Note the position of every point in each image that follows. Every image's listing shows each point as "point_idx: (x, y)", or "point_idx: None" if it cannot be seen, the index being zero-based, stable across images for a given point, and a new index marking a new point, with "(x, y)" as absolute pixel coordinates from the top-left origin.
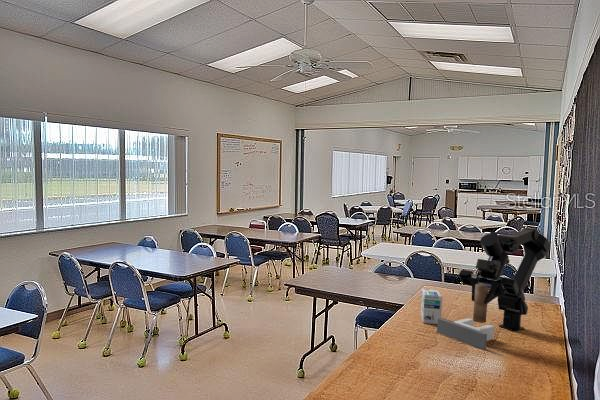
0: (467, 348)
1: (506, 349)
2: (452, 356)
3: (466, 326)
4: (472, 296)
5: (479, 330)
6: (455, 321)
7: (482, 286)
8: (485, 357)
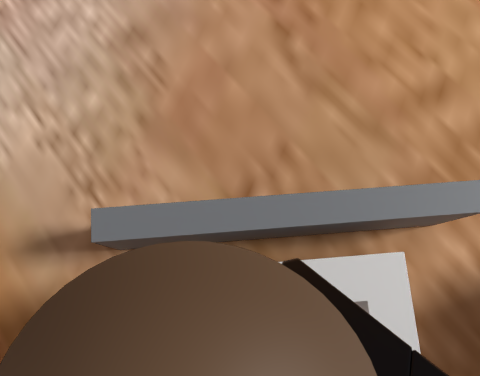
0: (175, 160)
1: None
2: (138, 9)
3: None
4: (311, 281)
5: None
6: (401, 276)
7: (65, 320)
8: (48, 143)
